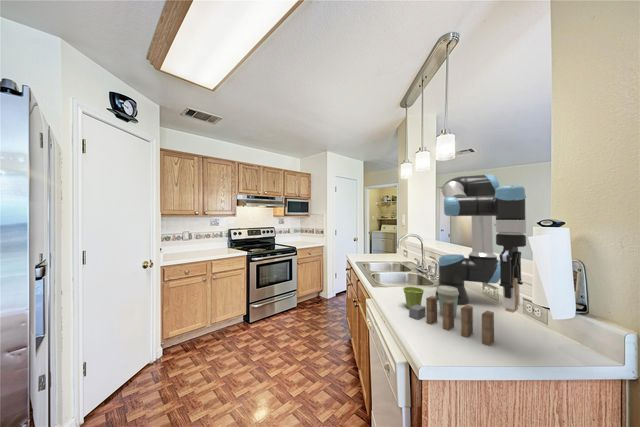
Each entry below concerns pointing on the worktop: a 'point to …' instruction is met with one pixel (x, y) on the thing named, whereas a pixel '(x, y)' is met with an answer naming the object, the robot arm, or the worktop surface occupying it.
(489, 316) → the tile
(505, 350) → the worktop surface
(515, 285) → the tile
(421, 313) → the block
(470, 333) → the tile
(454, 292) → the coffee cup
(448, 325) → the tile
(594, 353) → the worktop surface
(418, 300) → the plant pot
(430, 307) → the tile
